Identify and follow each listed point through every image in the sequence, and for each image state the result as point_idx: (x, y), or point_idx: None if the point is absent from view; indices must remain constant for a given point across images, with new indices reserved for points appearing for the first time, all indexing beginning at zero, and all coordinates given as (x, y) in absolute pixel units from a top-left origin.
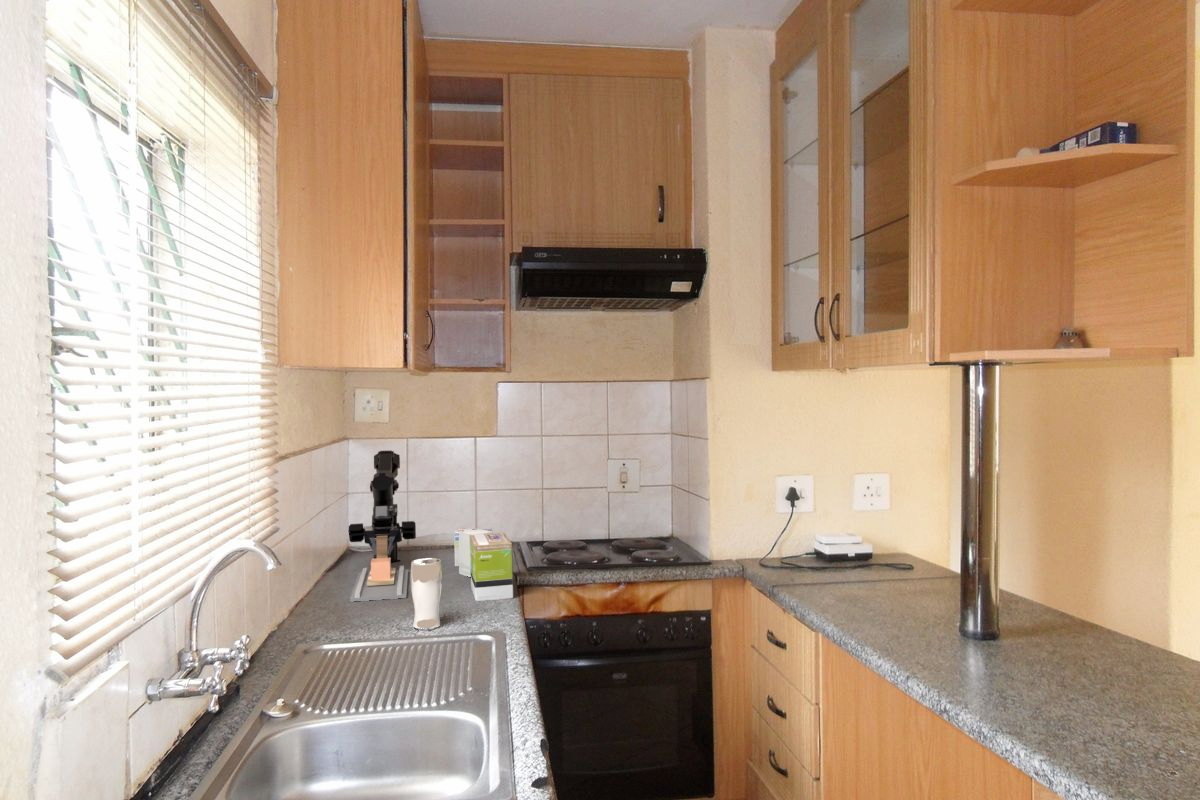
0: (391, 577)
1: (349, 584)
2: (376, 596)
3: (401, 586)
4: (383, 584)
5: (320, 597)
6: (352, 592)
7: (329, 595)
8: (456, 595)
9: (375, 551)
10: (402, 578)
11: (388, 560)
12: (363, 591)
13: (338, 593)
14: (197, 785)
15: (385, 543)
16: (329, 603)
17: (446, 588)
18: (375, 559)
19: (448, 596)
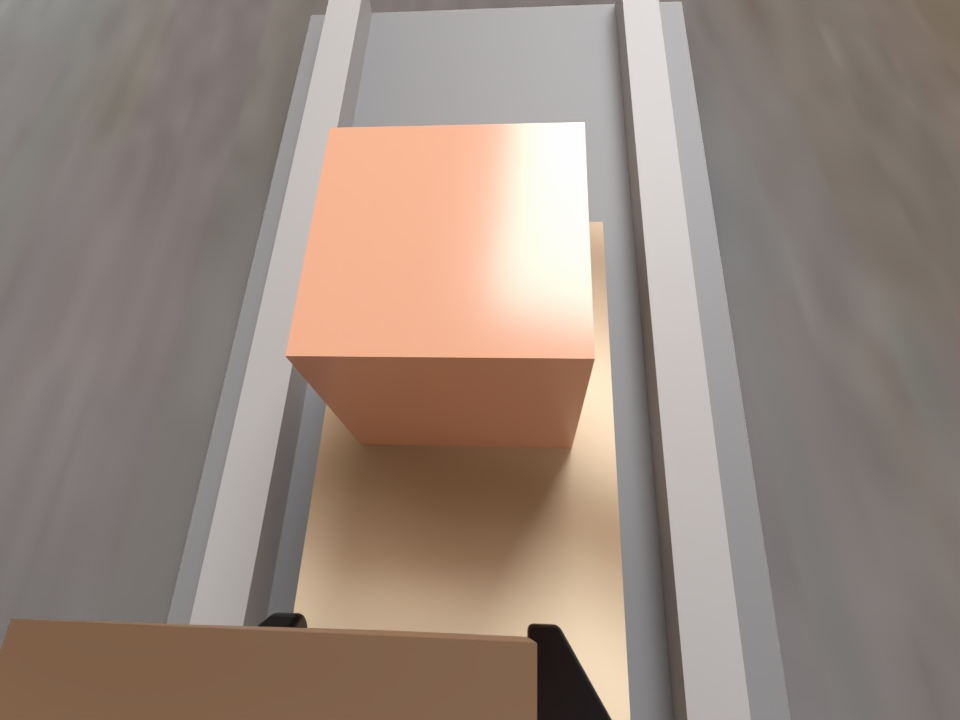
0: None
1: (827, 574)
2: (504, 9)
3: (318, 61)
4: None
5: (947, 169)
6: (694, 121)
7: (891, 207)
8: (26, 43)
9: (557, 681)
10: (265, 293)
11: (342, 175)
12: (609, 129)
13: (831, 248)
14: None
15: (231, 626)
16: (811, 29)
17: (5, 198)
18: (531, 282)
19: (76, 34)
